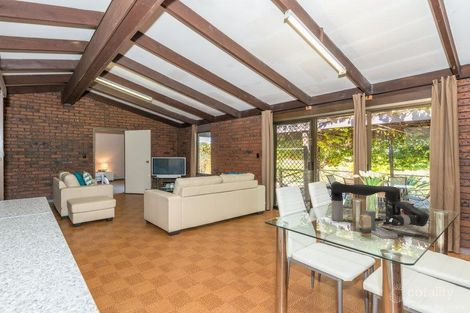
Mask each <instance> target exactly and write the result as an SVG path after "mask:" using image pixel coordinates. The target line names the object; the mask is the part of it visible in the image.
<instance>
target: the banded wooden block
mask: <svg viewBox="0 0 470 313" xmlns="http://www.w3.org/2000/svg"><path fill="white" fill-rule="evenodd" d="M359 225H360V228H359V232H360V235H361V236H363V237H364V238H365V237H371V235H372V234H371V216H368V215H365V214H359Z"/></svg>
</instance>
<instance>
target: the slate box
mask: <svg viewBox="0 0 470 313" xmlns="http://www.w3.org/2000/svg"><path fill="white" fill-rule="evenodd" d="M376 213H377V212H376V211H375V210H373V209H365V210H364V215H368V216H371V230H376V226H377V225H376V224H377V222H376V221H375V218H377V215H376Z"/></svg>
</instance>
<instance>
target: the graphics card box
mask: <svg viewBox="0 0 470 313" xmlns="http://www.w3.org/2000/svg"><path fill="white" fill-rule="evenodd" d="M398 189H399V195H398V198H397V199H398V200H399V201H400V202H401V189H400V188H398ZM384 202H385V203H384V204H385V217H387V218H388V217H390V218H391V217H392V216H393V215H402V214H401V208H400V207H398V206H396V205H395V204H393V203H391V202H390V201H388V200H387V199H386V198H385V197H384Z"/></svg>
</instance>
